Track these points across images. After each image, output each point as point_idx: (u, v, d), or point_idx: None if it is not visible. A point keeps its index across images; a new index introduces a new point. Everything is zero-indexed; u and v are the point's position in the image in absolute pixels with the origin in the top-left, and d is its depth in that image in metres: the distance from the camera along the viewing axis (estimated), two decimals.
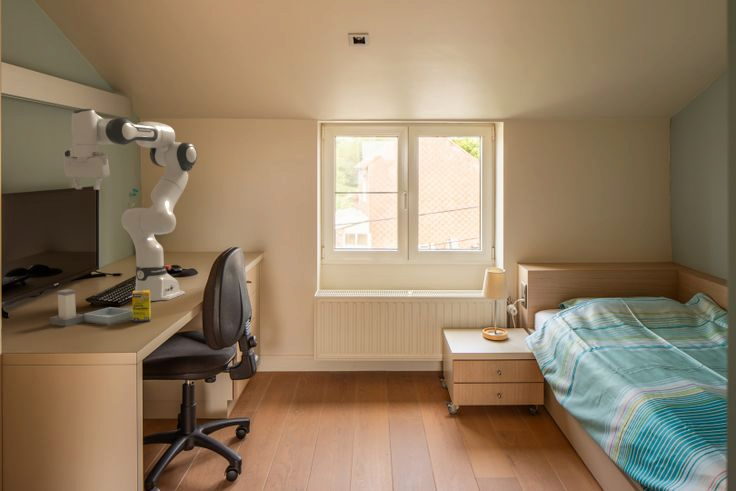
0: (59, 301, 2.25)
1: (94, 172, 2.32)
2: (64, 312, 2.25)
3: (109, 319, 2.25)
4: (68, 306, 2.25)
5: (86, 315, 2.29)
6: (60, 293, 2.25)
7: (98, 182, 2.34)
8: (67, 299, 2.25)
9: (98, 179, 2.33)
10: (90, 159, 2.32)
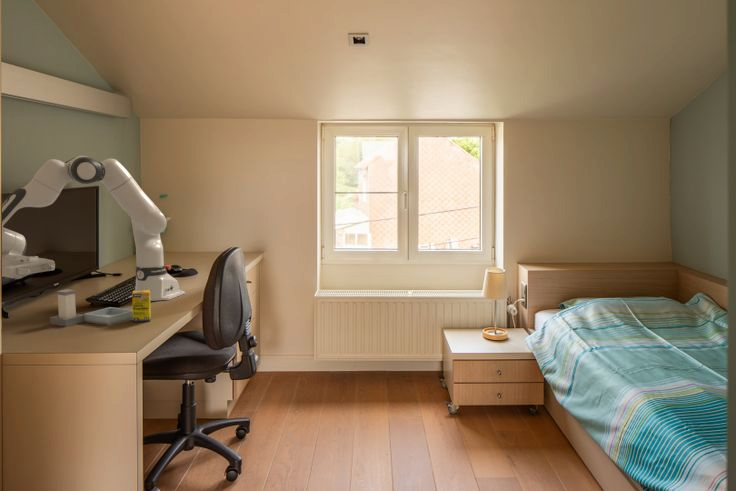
0: (59, 301, 2.25)
1: None
2: (64, 312, 2.25)
3: (109, 319, 2.25)
4: (68, 306, 2.25)
5: (86, 315, 2.29)
6: (60, 293, 2.25)
7: (21, 272, 2.26)
8: (67, 299, 2.25)
9: (18, 273, 2.26)
10: None
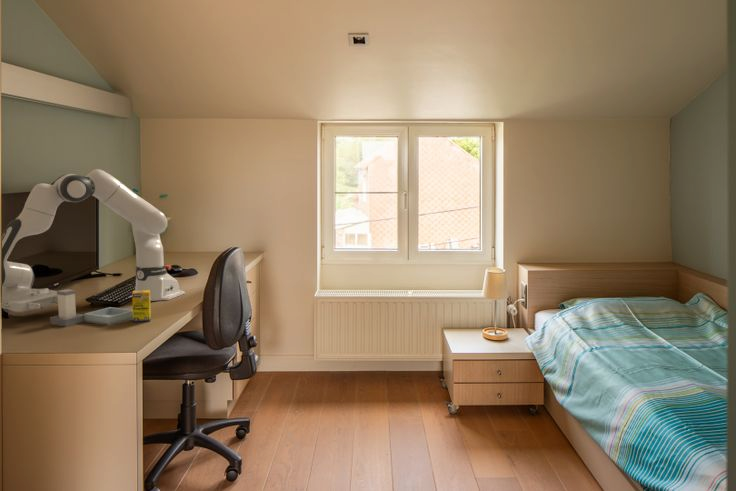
0: (59, 301, 2.25)
1: None
2: (64, 312, 2.25)
3: (109, 319, 2.25)
4: (68, 306, 2.25)
5: (86, 315, 2.29)
6: (60, 293, 2.25)
7: (32, 307, 2.26)
8: (67, 299, 2.25)
9: (29, 308, 2.26)
10: None
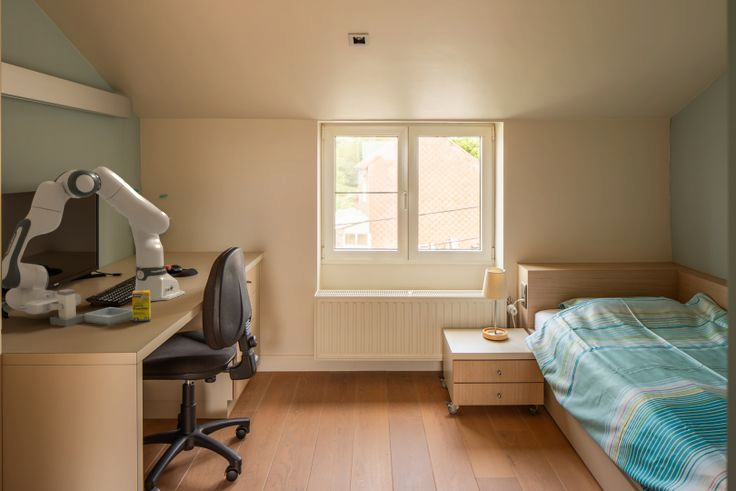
0: (59, 301, 2.25)
1: None
2: (64, 312, 2.25)
3: (109, 319, 2.25)
4: (68, 306, 2.25)
5: (86, 315, 2.29)
6: (60, 293, 2.25)
7: (53, 308, 2.24)
8: (67, 298, 2.25)
9: (50, 309, 2.24)
10: None
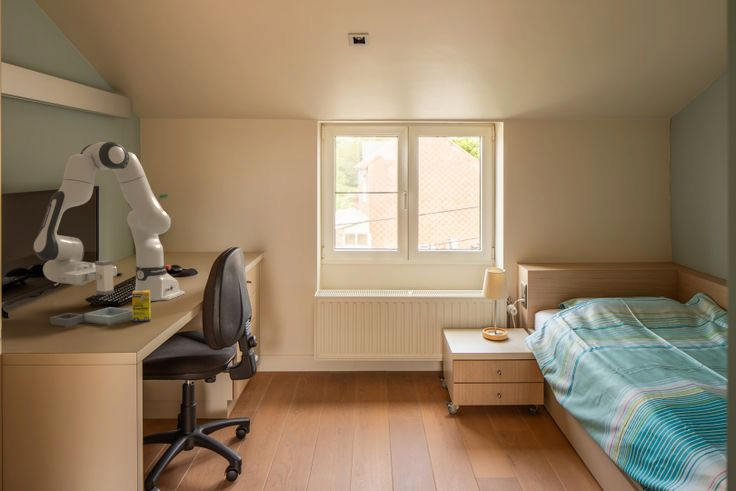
0: (97, 272, 2.29)
1: None
2: (102, 283, 2.28)
3: (109, 319, 2.25)
4: (106, 276, 2.29)
5: (86, 315, 2.29)
6: (98, 263, 2.28)
7: (92, 278, 2.27)
8: (105, 269, 2.28)
9: (89, 279, 2.28)
10: None
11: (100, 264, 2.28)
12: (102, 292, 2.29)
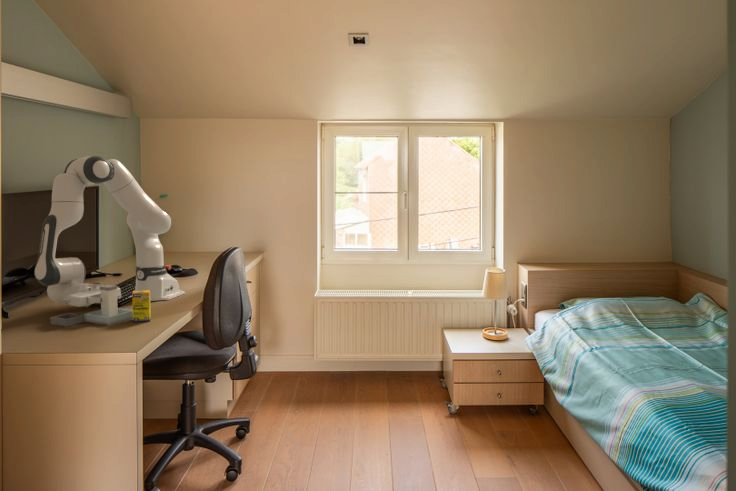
0: (101, 296, 2.30)
1: None
2: (107, 307, 2.30)
3: (109, 319, 2.25)
4: (110, 301, 2.30)
5: (86, 315, 2.29)
6: (103, 288, 2.29)
7: (92, 301, 2.27)
8: (110, 294, 2.30)
9: (89, 302, 2.27)
10: None
11: (105, 289, 2.29)
12: None
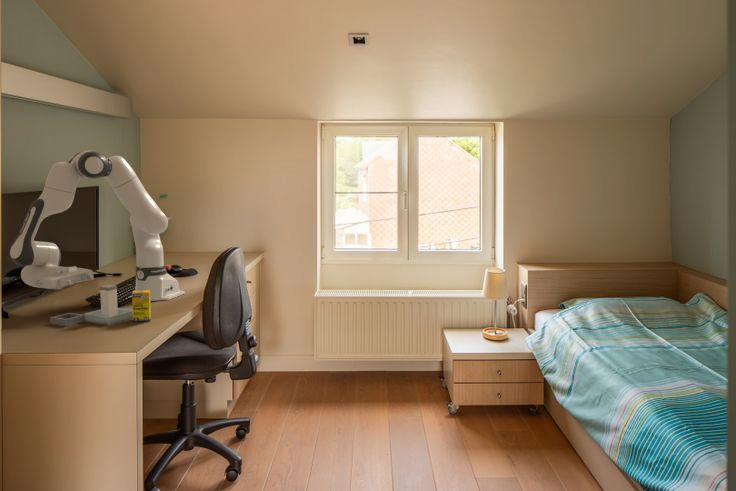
0: (101, 296, 2.30)
1: None
2: (107, 307, 2.30)
3: (109, 319, 2.25)
4: (110, 301, 2.30)
5: (86, 315, 2.29)
6: (103, 288, 2.29)
7: (63, 283, 2.32)
8: (110, 294, 2.30)
9: (60, 284, 2.32)
10: None
11: (105, 289, 2.29)
12: None
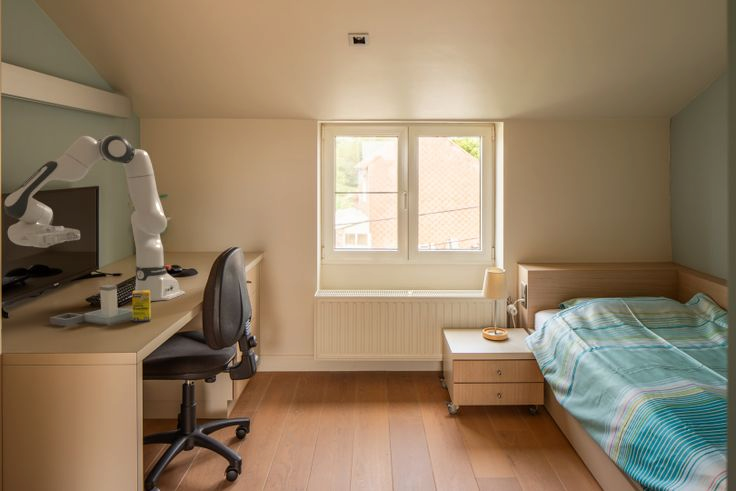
0: (101, 296, 2.30)
1: None
2: (107, 307, 2.30)
3: (109, 319, 2.25)
4: (110, 301, 2.30)
5: (86, 315, 2.29)
6: (103, 288, 2.29)
7: (48, 240, 2.30)
8: (110, 294, 2.30)
9: (46, 241, 2.30)
10: None
11: (105, 289, 2.29)
12: None
